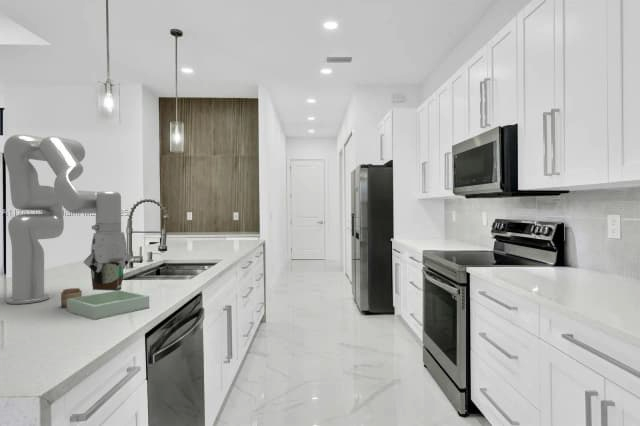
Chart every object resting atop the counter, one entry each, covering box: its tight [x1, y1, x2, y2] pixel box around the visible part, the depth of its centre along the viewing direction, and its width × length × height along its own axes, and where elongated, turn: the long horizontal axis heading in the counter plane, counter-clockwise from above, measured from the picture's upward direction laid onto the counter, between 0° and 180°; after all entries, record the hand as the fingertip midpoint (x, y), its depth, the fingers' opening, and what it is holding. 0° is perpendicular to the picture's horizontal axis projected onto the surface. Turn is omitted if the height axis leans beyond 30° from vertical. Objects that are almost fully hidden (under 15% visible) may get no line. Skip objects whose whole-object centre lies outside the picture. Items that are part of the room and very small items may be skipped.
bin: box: [66, 289, 150, 321], centre depth 133 cm, size 18×18×4 cm
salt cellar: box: [60, 287, 83, 309], centre depth 137 cm, size 6×6×6 cm
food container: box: [90, 259, 126, 292], centre depth 133 cm, size 12×6×10 cm, turn 78°
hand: (109, 281), depth 133 cm, fingers closed on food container, 6 cm apart
